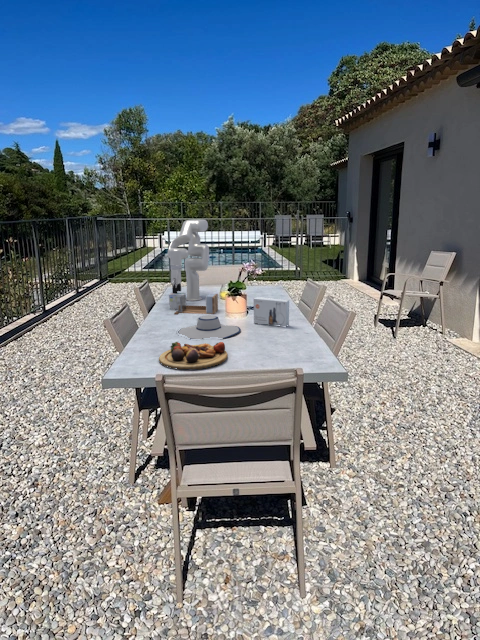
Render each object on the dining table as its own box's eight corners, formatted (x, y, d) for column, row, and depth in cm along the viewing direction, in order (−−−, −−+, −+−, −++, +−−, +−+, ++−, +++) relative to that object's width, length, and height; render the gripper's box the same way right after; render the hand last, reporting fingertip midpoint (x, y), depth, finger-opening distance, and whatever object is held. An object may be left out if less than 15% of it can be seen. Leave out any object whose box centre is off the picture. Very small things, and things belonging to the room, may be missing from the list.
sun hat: (250, 327, 265) (250, 312, 262) (224, 345, 233) (224, 328, 230) (195, 321, 278) (195, 307, 276) (164, 337, 246) (163, 321, 244)
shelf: (179, 310, 307) (178, 293, 304) (218, 311, 303) (217, 293, 300) (174, 314, 295) (173, 296, 292) (214, 315, 291) (213, 297, 288)
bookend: (180, 309, 305) (180, 294, 302) (185, 309, 304) (185, 294, 302) (176, 312, 296) (176, 297, 294) (182, 312, 296) (181, 297, 293)
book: (209, 309, 303) (208, 294, 300) (215, 310, 302) (215, 294, 299) (206, 313, 294) (205, 296, 291) (213, 313, 293) (212, 296, 290)
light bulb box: (186, 307, 315) (186, 292, 313) (184, 309, 309) (183, 294, 306) (171, 307, 316) (171, 292, 314) (169, 309, 310) (168, 294, 307)
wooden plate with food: (229, 348, 225) (229, 332, 223) (225, 370, 194) (224, 352, 192) (166, 349, 226) (165, 334, 224) (152, 371, 195) (150, 353, 193)
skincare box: (253, 324, 270) (253, 298, 266) (256, 322, 274) (256, 296, 270) (286, 328, 261) (286, 301, 257) (289, 325, 265) (289, 299, 261)
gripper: (174, 266, 314) (175, 290, 318) (166, 268, 297) (167, 294, 301) (184, 266, 313) (185, 290, 317) (177, 268, 296) (178, 294, 300)
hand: (176, 292), depth 309 cm, fingers open, 9 cm apart
